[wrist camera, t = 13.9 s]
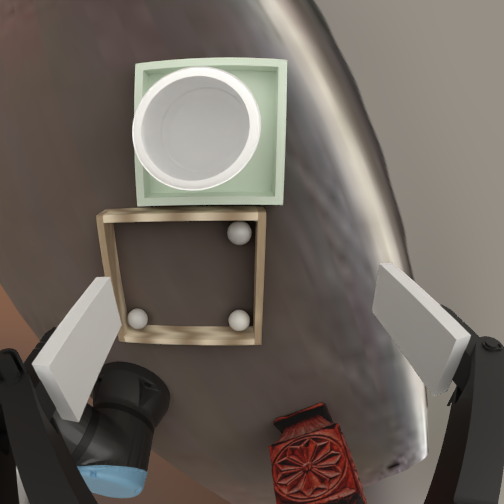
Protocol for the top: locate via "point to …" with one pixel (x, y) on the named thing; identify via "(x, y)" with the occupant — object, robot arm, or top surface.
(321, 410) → the vase
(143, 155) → the jar
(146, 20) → the top surface
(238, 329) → the pebble
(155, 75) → the bin
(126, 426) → the robot arm
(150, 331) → the bin
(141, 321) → the white ball
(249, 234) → the pebble
